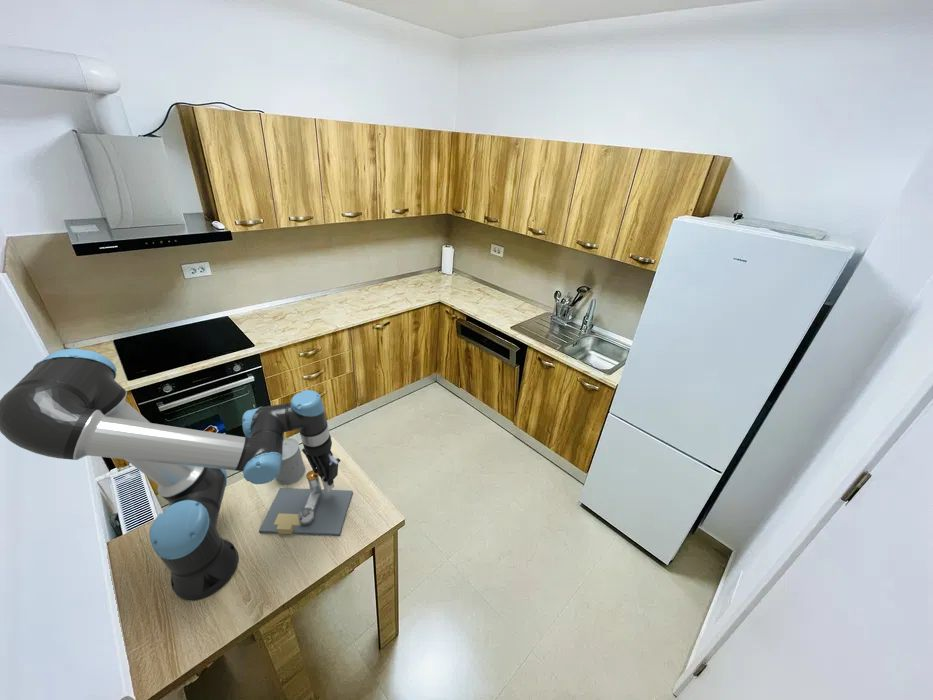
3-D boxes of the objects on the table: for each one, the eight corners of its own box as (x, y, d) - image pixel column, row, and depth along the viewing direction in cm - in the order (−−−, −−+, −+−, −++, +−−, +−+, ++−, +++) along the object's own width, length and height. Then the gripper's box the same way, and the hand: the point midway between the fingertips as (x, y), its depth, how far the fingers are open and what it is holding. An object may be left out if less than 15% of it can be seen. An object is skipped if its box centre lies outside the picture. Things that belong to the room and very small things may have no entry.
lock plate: (258, 535, 110) (254, 524, 107) (280, 490, 123) (277, 479, 120) (339, 537, 111) (337, 527, 108) (352, 492, 124) (351, 482, 121)
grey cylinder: (270, 475, 128) (261, 450, 121) (294, 458, 135) (288, 434, 128) (286, 489, 124) (278, 465, 117) (311, 471, 130) (304, 447, 124)
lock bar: (311, 526, 112) (306, 507, 107) (297, 525, 112) (290, 506, 106) (325, 489, 123) (321, 470, 117) (312, 489, 123) (307, 469, 117)
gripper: (343, 437, 106) (353, 488, 120) (309, 421, 111) (322, 472, 124) (324, 455, 101) (337, 506, 114) (289, 438, 105) (305, 489, 118)
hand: (329, 488), depth 119 cm, fingers closed
